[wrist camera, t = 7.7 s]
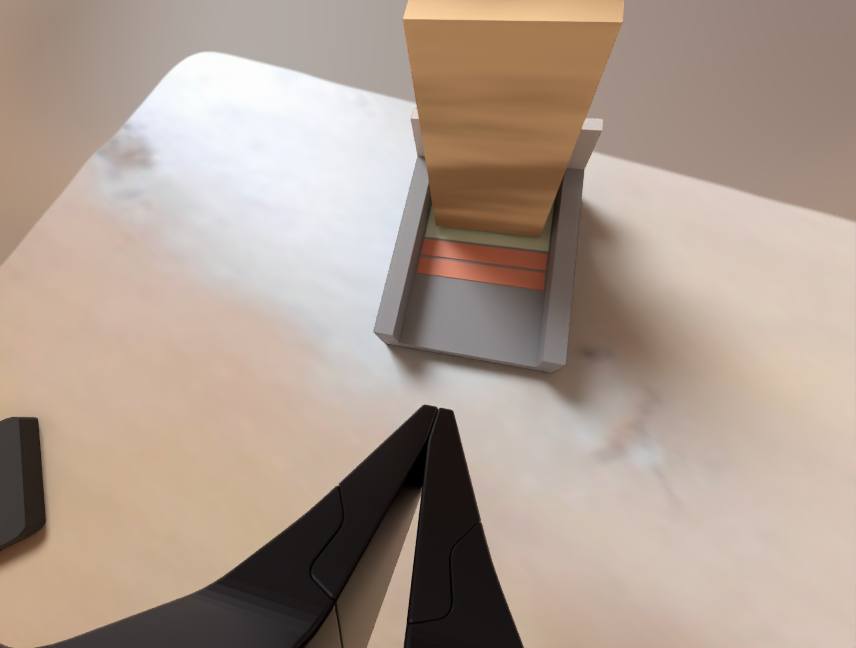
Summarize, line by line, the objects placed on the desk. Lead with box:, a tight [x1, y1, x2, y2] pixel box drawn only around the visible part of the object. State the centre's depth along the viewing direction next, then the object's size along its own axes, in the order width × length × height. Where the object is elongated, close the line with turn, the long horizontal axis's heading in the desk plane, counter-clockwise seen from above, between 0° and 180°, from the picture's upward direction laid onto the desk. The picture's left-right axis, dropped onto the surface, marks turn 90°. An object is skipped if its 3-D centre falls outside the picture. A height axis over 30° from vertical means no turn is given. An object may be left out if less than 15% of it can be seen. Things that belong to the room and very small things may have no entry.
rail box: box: [373, 108, 603, 373], centre depth 21 cm, size 14×11×6 cm
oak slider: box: [403, 0, 624, 237], centre depth 17 cm, size 4×7×12 cm, turn 79°
